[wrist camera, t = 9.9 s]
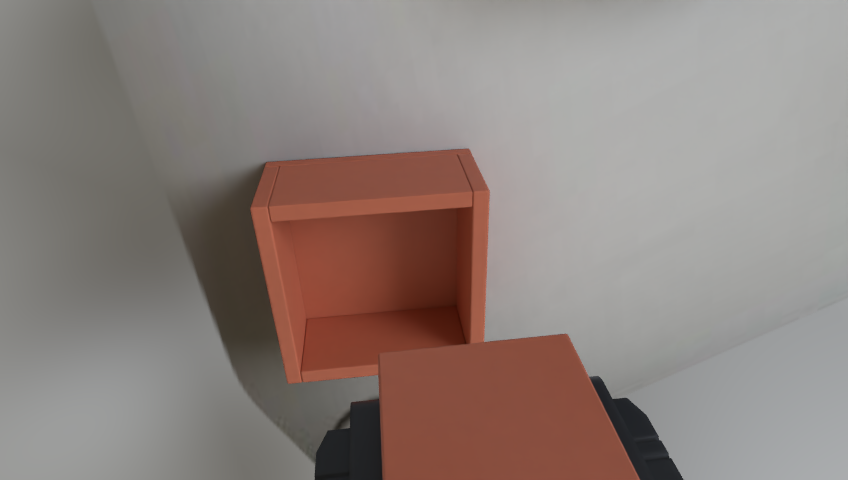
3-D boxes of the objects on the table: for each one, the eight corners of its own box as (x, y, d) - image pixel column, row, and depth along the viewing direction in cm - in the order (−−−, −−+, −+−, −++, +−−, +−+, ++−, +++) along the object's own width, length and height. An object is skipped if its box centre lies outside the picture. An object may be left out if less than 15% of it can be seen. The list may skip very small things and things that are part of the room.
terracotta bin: (296, 322, 30) (287, 384, 26) (265, 161, 25) (249, 207, 21) (466, 307, 31) (483, 365, 27) (469, 148, 26) (490, 190, 22)
